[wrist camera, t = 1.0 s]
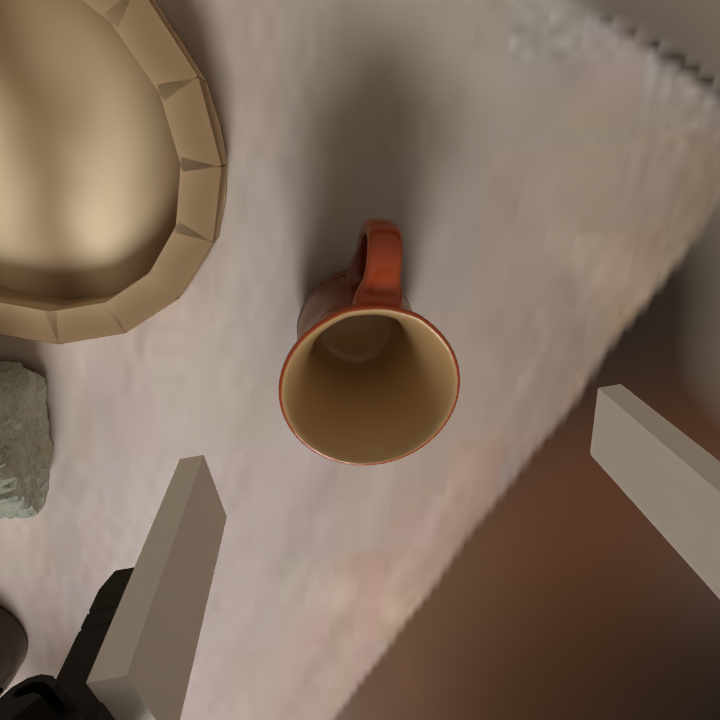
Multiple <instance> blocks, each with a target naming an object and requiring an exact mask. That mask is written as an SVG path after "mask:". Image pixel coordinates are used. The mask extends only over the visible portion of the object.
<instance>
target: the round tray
mask: <svg viewBox="0 0 720 720" xmlns="http://www.w3.org/2000/svg"><path fill="white" fill-rule="evenodd" d="M227 164H228V163H227V159H226V151H225V146H224V141H223V135H222V130H221V125H220V122H219V119H218V116H217V112H216V109H215V106H214V103H213V99H212V97H211V95H210V92H209V88H208V84H207V83H206V80H205V78H204V77H203V75H202V74H201V72H200V70H199V68H198V67H197V65H196V63H195V61H194V60H193V58H192V56H191V54H190V53H189V51H188V49H187V47H186V45H185V44H184V43H183V41H182V40H181V38H180V37H179V36H178V34H177V33H176V31H175V30H174V29H173V27H172V26H171V24H170V23H169V22H168V20H167V19H166V17H165V16H164V14H163V13H162V11H161V10H160V8H159V7H158V5H157V3H156V2H155V0H0V334H2V335H8V336H13V337H19V338H25V339H31V340H37V341H42V342H48V343H54V344H63V343H69V342H75V341H81V340H87V339H93V338H99V337H105V336H111V335H117V334H123V333H126V332H128V331H130V330H131V329H133V328H134V327H136V326H137V325H139V324H140V323H142V322H143V321H145V320H147V319H148V318H150V317H151V316H153V315H154V314H156V313H157V312H159V311H160V310H162V309H164V308H165V307H167V306H168V305H170V304H171V303H173V302H174V301H176V300H177V299H179V298H180V296H181V295H182V294H183V293H184V292H185V291H186V289H187V288H188V287H189V285H190V283H191V282H192V280H193V279H194V277H195V275H196V274H197V272H198V270H199V269H200V267H201V266H202V264H203V263H204V262H205V260H206V258H207V257H208V255H209V253H210V251H211V249H212V247H213V246H214V244H215V242H216V241H217V239H218V237H219V235H220V228H221V223H222V218H223V213H224V208H225V203H226V192H227V169H228V166H227Z"/></svg>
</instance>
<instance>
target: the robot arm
mask: <svg viewBox="0 0 720 720" xmlns="http://www.w3.org/2000/svg"><path fill="white" fill-rule="evenodd" d="M590 454H591V455H592V457H593V458H594V459H595V460H596V461H597V462H598V463H599V464H600V465H601V467H602V468H603V469H604V470H605V471H606V472H607V473H608V474H609V476H611V478H612V479H613V480H614V481H615V482H616V483H617V484H618V486H619V487H620V488H621V489H622V490H623V491H624V492H625V493H626V495H627V496H628V497H629V498H630V499H631V500H632V501H633V502H634V504H635V505H636V506H637V507H638V508H639V509H640V510H641V511H642V513H643V514H644V515H645V516H646V517H647V518H648V519H649V520H650V521H651V523H652V524H653V525H654V526H655V527H656V528H657V529H658V530H659V532H660V533H661V534H662V535H663V536H664V537H665V538H666V539H667V541H669V543H670V544H671V545H672V546H673V547H674V548H675V549H676V551H677V552H678V553H679V554H680V555H681V556H682V557H683V558H684V559H685V561H686V562H687V563H688V564H689V565H690V566H691V567H692V569H693V570H694V571H695V572H696V573H697V574H698V575H699V576H700V577H701V578H702V580H703V581H704V582H705V583H706V584H707V585H708V586H709V588H710V589H711V590H712V591H713V592H714V593H715V594H716V595H717V596H718V598H719V599H720V462H719V461H718V460H717V459H715V458H714V457H713V456H712V455H710V454H709V453H708V452H706V451H705V450H704V449H702V448H701V447H700V446H699V445H697V444H696V443H695V442H694V441H692V440H691V439H690V438H689V437H687V436H686V435H685V434H684V433H682V432H681V431H680V430H678V429H677V428H676V427H675V426H673V425H672V424H671V423H670V422H668V421H667V420H666V419H664V418H663V417H662V416H661V415H659V414H658V413H657V412H655V411H654V410H653V409H651V408H650V407H649V406H648V405H647V404H645V403H644V402H643V401H641V400H640V399H639V398H638V397H636V396H635V395H634V394H632V393H631V392H630V391H629V390H627V389H626V388H625V387H624V386H622V385H621V384H620V385H614V386H608V387H602V388H598V394H597V402H596V410H595V419H594V427H593V436H592V443H591V451H590ZM226 518H227V517H226V514H225V511H224V509H223V506H222V503H221V500H220V498H219V495H218V492H217V490H216V487H215V484H214V482H213V479H212V476H211V474H210V471H209V468H208V466H207V463H206V460H205V457H204V455H202V456H196V457H190V458H184V459H180V460H179V463H178V465H177V468H176V470H175V472H174V475H173V477H172V480H171V482H170V484H169V487H168V489H167V491H166V494H165V496H164V499H163V501H162V503H161V506H160V508H159V510H158V513H157V515H156V518H155V520H154V522H153V525H152V527H151V530H150V532H149V534H148V537H147V539H146V541H145V544H144V546H143V549H142V551H141V553H140V556H139V558H138V560H137V563H136V565H135V567H134V568H128V569H122V570H117V571H115V572H114V573H113V574H112V575H111V576H110V578H109V579H108V580H107V581H106V582H105V583H104V585H103V586H102V587H101V588H100V589H99V591H98V593H97V595H96V597H95V599H94V601H93V604H92V606H91V608H90V610H89V611H90V613H89V614H87V616H86V618H85V620H84V622H83V624H82V627H81V631H80V632H79V633H78V635H77V637H76V639H75V641H74V643H73V645H72V647H71V650H70V652H69V654H68V656H67V658H66V660H65V662H64V664H63V666H62V668H61V670H60V673H59V675H58V677H57V679H55V678H54V677H53V676H50V675H43V674H41V675H37V676H34V677H30V678H27V679H25V680H24V681H22V682H20V683H19V684H17V685H15V686H13V687H12V688H11V689H10V690H8V691H7V692H6V693H5V694H4V695H3V696H2V697H1V698H0V720H180V717H181V713H182V709H183V704H184V700H185V696H186V691H187V687H188V683H189V678H190V674H191V670H192V665H193V661H194V657H195V652H196V648H197V644H198V639H199V635H200V630H201V626H202V622H203V617H204V613H205V609H206V604H207V600H208V596H209V591H210V587H211V583H212V578H213V574H214V570H215V565H216V561H217V557H218V552H219V548H220V544H221V539H222V535H223V531H224V526H225V522H226ZM26 654H27V639H26V636H25V633H24V631H23V630H22V628H21V626H20V625H19V624H18V622H17V621H16V620H15V619H14V618H13V617H12V616H11V615H10V614H9V613H7V612H6V611H5V610H3V609H2V608H1V607H0V696H1V695H2V694H3V692H4V691H5V690H6V689H7V688H8V686H9V685H10V684H11V682H12V680H13V679H14V677H15V675H16V673H17V672H18V670H19V668H20V666H21V664H22V663H23V661H24V659H25V657H26Z"/></svg>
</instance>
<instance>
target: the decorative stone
mask: <svg viewBox="0 0 720 720" xmlns="http://www.w3.org/2000/svg"><path fill="white" fill-rule="evenodd" d="M46 401H47V386H46V382H45V378H44V377H43V376H41V375H40V374H39V373H37V372H34V371H30V370H28V369H26V368H24V367H23V366H22V365H21V363H20V362H8V361H0V518H5V517H7V518H14V517H18V518H29V517H32V516H35V515H37V514H38V513H39V511H41V509H42V508H43V506H44V505H45V501H46V496H47V493H48V490H49V478H50V474H49V471H50V466H51V457H52V450H53V441H52V439H51V437H50V434H49V428H50V424H49V420H48V417H47V414H48V411H47V405H46Z"/></svg>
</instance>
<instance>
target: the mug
mask: <svg viewBox="0 0 720 720" xmlns="http://www.w3.org/2000/svg"><path fill="white" fill-rule="evenodd" d="M402 256H403V240H402V234H401V231H400V228H399V227H398V225H397V224H396V223H394V222H393V221H390V220H387V219H378V218H372V219H368V220H366V221H365V222H364V224H363V225H362V228H361V230H360V234H359V238H358V243H357V248H356V251H355V254H354V256H353V259H352V261H351V264H350V267H349V270H348V271H343V272H339V273H336V274H334V275H332V276H330V277H329V278H327V279H325V280H324V281H323V282H321V283H320V284H319V285H318V286H317V287H316V288H315V289H314V290H313V291H312V292H311V293H310V295H309V296H308V297H307V299H306V301H305V303H304V305H303V307H302V309H301V311H300V314H299V317H298V322H297V342H296V343H295V344H294V346H293V347H292V349H291V350H290V352H289V354H288V355H287V358H286V360H285V362H284V365H283V368H282V371H281V375H280V379H279V401H280V406H281V410H282V413H283V416H284V418H285V420H286V422H287V424H288V426H289V428H290V429H291V431H292V432H293V433H294V435H295V436H296V437H297V438H298V439H299V440H300V441H301V442H302V443H303V444H304V445H305V446H307V447H308V448H309V449H311V450H312V451H314V452H315V453H317V454H319V455H321V456H323V457H325V458H328V459H330V460H333V461H336V462H340V463H345V464H351V465H376V464H382V463H387V462H391V461H394V460H397V459H400V458H403V457H405V456H408V455H410V454H411V453H413V452H415V451H417V450H418V449H420V448H422V447H423V446H424V445H426V444H427V443H428V442H430V441H431V440H432V439H433V438H434V437H435V436H436V435H437V434H438V433H439V432H440V431H441V429H442V428H443V427H444V426H445V424H446V423H447V421H448V420H449V418H450V416H451V414H452V412H453V410H454V408H455V405H456V402H457V399H458V394H459V387H460V374H459V367H458V363H457V359H456V356H455V354H454V351H453V349H452V348H451V346H450V344H449V342H448V341H447V340H446V338H445V337H444V336H443V335H442V333H441V332H440V331H439V330H438V329H437V328H436V327H435V326H434V325H433V324H431V323H430V322H429V321H428V320H426V319H425V318H424V317H422V316H421V315H419V314H417V313H415V312H413V311H412V309H411V307H410V305H409V303H408V301H407V299H406V298H405V296H404V295H403V292H402V287H401V279H400V278H401V266H402Z"/></svg>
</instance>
